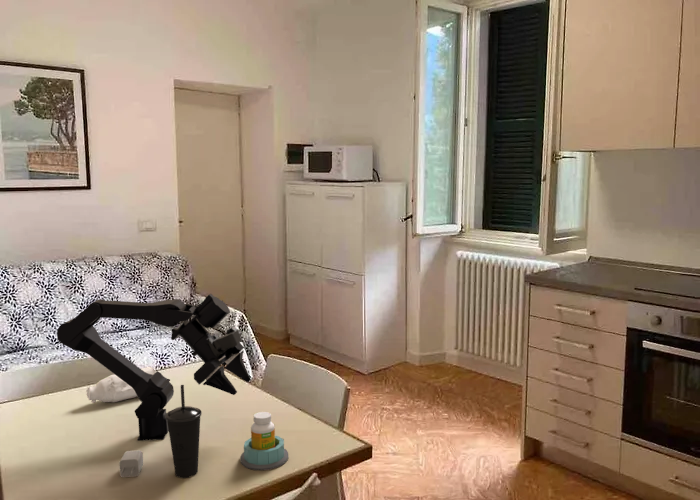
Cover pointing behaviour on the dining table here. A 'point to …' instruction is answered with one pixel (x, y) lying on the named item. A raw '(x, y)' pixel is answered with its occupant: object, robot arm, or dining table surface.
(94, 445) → the dining table surface
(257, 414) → the supplement bottle
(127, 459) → the usb wall charger
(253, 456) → the teal round bowl
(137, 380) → the robot arm
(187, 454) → the drinking cup
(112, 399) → the white bottle
